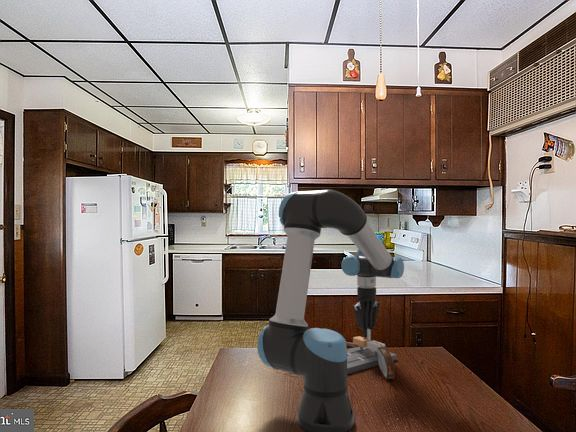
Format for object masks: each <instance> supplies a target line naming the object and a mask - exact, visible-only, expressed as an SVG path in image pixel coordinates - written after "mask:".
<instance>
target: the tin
mask: <svg viewBox="0 0 576 432" xmlns="http://www.w3.org/2000/svg"><path fill="white" fill-rule="evenodd" d="M389 352H390V351H389V350H388V348H387V346H385V347H378V362H379V365H378V366H379V369H380V371H381V374H382V375H383V377H384V378H385V380H394V379H395V365H394V361H393V359H392V356H391V354H390V353H389Z"/></svg>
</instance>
